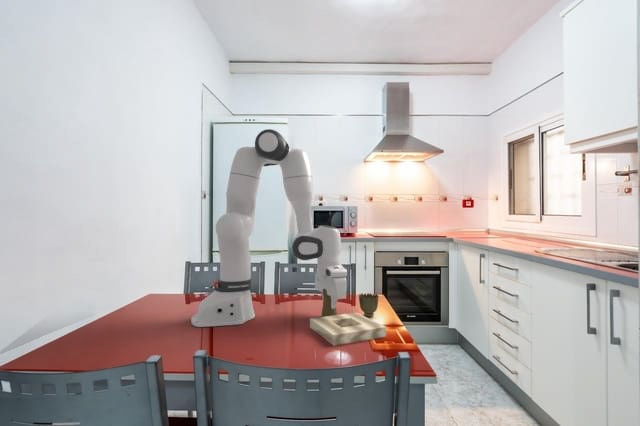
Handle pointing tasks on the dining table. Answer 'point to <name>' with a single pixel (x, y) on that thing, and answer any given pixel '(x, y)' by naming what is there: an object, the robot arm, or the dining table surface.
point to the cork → (327, 305)
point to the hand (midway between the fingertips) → (329, 306)
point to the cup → (368, 304)
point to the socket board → (347, 328)
